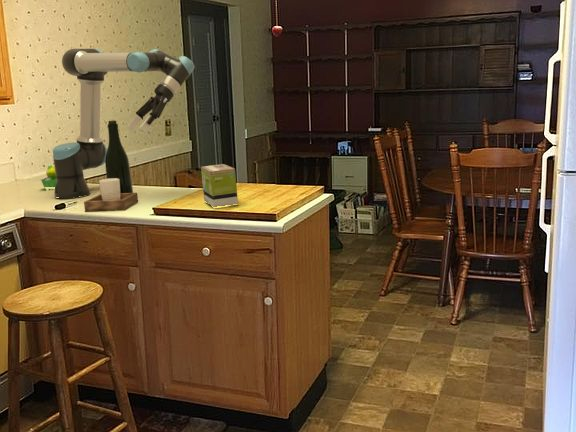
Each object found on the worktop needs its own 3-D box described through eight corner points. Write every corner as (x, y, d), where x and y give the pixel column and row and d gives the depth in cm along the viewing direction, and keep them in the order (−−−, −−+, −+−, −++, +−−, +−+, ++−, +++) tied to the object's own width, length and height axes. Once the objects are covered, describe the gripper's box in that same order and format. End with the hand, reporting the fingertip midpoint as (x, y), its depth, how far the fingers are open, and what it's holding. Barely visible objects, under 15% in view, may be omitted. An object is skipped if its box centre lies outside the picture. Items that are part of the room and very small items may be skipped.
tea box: (203, 203, 250) (200, 166, 246) (227, 199, 253) (224, 163, 250) (213, 209, 236) (210, 170, 233) (239, 206, 239) (236, 167, 236)
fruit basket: (43, 191, 303) (39, 168, 300) (41, 189, 310) (38, 166, 308) (67, 188, 307) (64, 165, 305) (66, 186, 315) (63, 163, 312)
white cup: (104, 203, 256) (101, 179, 253) (123, 202, 256) (120, 177, 254) (100, 207, 248) (97, 182, 246) (120, 205, 248) (117, 180, 246)
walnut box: (85, 212, 246) (83, 201, 245) (101, 203, 261) (99, 194, 260) (124, 210, 244) (123, 200, 243) (138, 202, 259) (137, 192, 259)
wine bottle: (115, 194, 281) (106, 120, 274) (137, 193, 279) (128, 119, 272) (104, 199, 271) (94, 122, 264) (127, 198, 269) (118, 121, 262)
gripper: (186, 95, 250) (154, 137, 245) (161, 95, 270) (131, 134, 265) (172, 82, 246) (140, 124, 241) (148, 83, 266) (118, 122, 261)
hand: (135, 129), depth 253 cm, fingers open, 13 cm apart
